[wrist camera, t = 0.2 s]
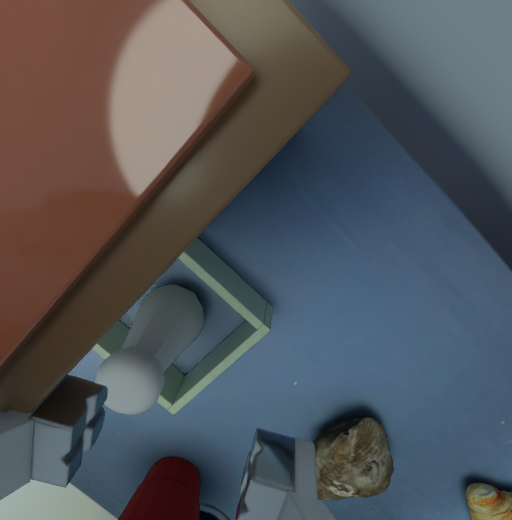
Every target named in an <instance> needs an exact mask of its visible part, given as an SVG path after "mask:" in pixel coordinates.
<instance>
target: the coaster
mask: <svg viewBox="0 0 512 520" xmlns="http://www.w3.org/2000/svg"><path fill="white" fill-rule="evenodd" d="M255 75H256V74H255V72H254V70H253V68H252V66H251V65H250V64H249V63H248V62H247V61H246V60H245V59H244V58H243V57H242V56H241V55H240V53H239V52H238V51H237V50H236V49H235V48H234V47H233V46H232V45H231V44H230V43H229V42H228V41H227V40H226V39H225V38H224V37H223V36H222V34H221V33H220V32H219V31H218V30H217V29H216V28H215V27H214V26H213V25H212V24H211V23H210V22H209V21H208V20H207V19H206V18H205V17H204V15H203V14H202V13H201V12H200V11H199V10H198V9H197V8H196V7H195V6H194V5H193V4H192V3H191V2H190V1H189V0H0V373H1V371H2V370H3V369H4V368H5V367H6V366H7V364H8V363H9V362H10V361H11V360H12V359H13V357H14V356H15V355H16V354H17V353H18V352H19V351H20V349H21V348H22V347H23V346H24V345H25V344H26V342H27V341H28V340H29V339H30V338H31V337H32V335H33V334H34V333H35V332H36V331H37V330H38V329H39V327H40V326H41V325H42V324H43V323H44V322H45V320H46V319H47V318H48V317H49V316H50V315H51V313H52V312H53V311H54V310H55V309H56V308H57V307H58V305H59V304H60V303H61V302H62V301H63V300H64V298H65V297H66V296H67V295H68V294H69V293H70V291H71V290H72V289H73V288H74V287H75V286H76V285H77V283H78V282H79V281H80V280H81V279H82V278H83V276H84V275H85V274H86V273H87V272H88V271H89V270H90V268H91V267H92V266H93V265H94V264H95V263H96V261H97V260H98V259H99V258H100V257H101V256H102V254H103V253H104V252H105V251H106V250H107V249H108V248H109V246H110V245H111V244H112V243H113V242H114V241H115V239H116V238H117V237H118V236H119V235H120V234H121V232H122V231H123V230H124V229H125V228H126V227H127V226H128V224H129V223H130V222H131V221H132V220H133V219H134V217H135V216H136V215H137V214H138V213H139V212H140V210H141V209H142V208H143V207H144V206H145V205H146V204H147V202H148V201H149V200H150V199H151V198H152V197H153V195H154V194H155V193H156V192H157V191H158V190H159V188H160V187H161V186H162V185H163V184H164V183H165V182H166V180H167V179H168V178H169V177H170V176H171V175H172V173H173V172H174V171H175V170H176V169H177V168H178V167H179V165H180V164H181V163H182V162H183V161H184V160H185V158H186V157H187V156H188V155H189V154H190V153H191V151H192V150H193V149H194V148H195V147H196V146H197V145H198V143H199V142H200V141H201V140H202V139H203V138H204V136H205V135H206V134H207V133H208V132H209V131H210V129H211V128H212V127H213V126H214V125H215V124H216V123H217V121H218V120H219V119H220V118H221V117H222V116H223V114H224V113H225V112H226V111H227V110H228V109H229V107H230V106H231V105H232V104H233V103H234V102H235V101H236V99H237V98H238V97H239V96H240V95H241V94H242V92H243V91H244V90H245V89H246V88H247V87H248V85H249V84H250V83H251V82H252V81H253V80H254V78H255Z"/></svg>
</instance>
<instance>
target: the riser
mask: <svg viewBox="0 0 512 520" xmlns="http://www.w3.org/2000/svg"><path fill="white" fill-rule="evenodd" d="M189 1H190V2H191V3H192V4H193V5H194V6H195V7H196V8H197V9H198V10H199V11H200V12H201V13H202V14H203V15H204V17H205V18H206V19H207V20H208V21H209V22H210V23H211V24H212V25H213V26H214V27H215V28H216V29H217V30H218V31H219V32H220V33H221V34H222V36H223V37H224V38H225V39H226V40H227V41H228V42H229V43H230V44H231V45H232V46H233V47H234V48H235V49H236V50H237V51H238V52H239V53H240V55H241V56H242V57H243V58H244V59H245V60H246V61H247V62H248V63H249V64H250V65H251V66H252V68H253V70H254V72H255V74H256V75H255V78H254V80H253V81H252V82H251V83H250V84H249V85H248V87H247V88H246V89H245V90H244V91H243V92H242V94H241V95H240V96H239V97H238V98H237V99H236V101H235V102H234V103H233V104H232V105H231V106H230V107H229V109H228V110H227V111H226V112H225V113H224V114H223V116H222V117H221V118H220V119H219V120H218V121H217V123H216V124H215V125H214V126H213V127H212V128H211V129H210V131H209V132H208V133H207V134H206V135H205V136H204V138H203V139H202V140H201V141H200V142H199V143H198V145H197V146H196V147H195V148H194V149H193V150H192V151H191V153H190V154H189V155H188V156H187V157H186V158H185V160H184V161H183V162H182V163H181V164H180V165H179V167H178V168H177V169H176V170H175V171H174V172H173V173H172V175H171V176H170V177H169V178H168V179H167V180H166V182H165V183H164V184H163V185H162V186H161V187H160V188H159V190H158V191H157V192H156V193H155V194H154V195H153V197H152V198H151V199H150V200H149V201H148V202H147V204H146V205H145V206H144V207H143V208H142V209H141V210H140V212H139V213H138V214H137V215H136V216H135V217H134V219H133V220H132V221H131V222H130V223H129V224H128V226H127V227H126V228H125V229H124V230H123V231H122V232H121V234H120V235H119V236H118V237H117V238H116V239H115V241H114V242H113V243H112V244H111V245H110V246H109V248H108V249H107V250H106V251H105V252H104V253H103V254H102V256H101V257H100V258H99V259H98V260H97V261H96V263H95V264H94V265H93V266H92V267H91V268H90V270H89V271H88V272H87V273H86V274H85V275H84V276H83V278H82V279H81V280H80V281H79V282H78V283H77V285H76V286H75V287H74V288H73V289H72V290H71V291H70V293H69V294H68V295H67V296H66V297H65V298H64V300H63V301H62V302H61V303H60V304H59V305H58V307H57V308H56V309H55V310H54V311H53V312H52V313H51V315H50V316H49V317H48V318H47V319H46V320H45V322H44V323H43V324H42V325H41V326H40V327H39V329H38V330H37V331H36V332H35V333H34V334H33V335H32V337H31V338H30V339H29V340H28V341H27V342H26V344H25V345H24V346H23V347H22V348H21V349H20V351H19V352H18V353H17V354H16V355H15V356H14V357H13V359H12V360H11V361H10V362H9V363H8V364H7V366H6V367H5V368H4V369H3V370H2V371H1V373H0V410H1V411H5V412H6V411H7V410H9V409H10V410H14V411H18V412H21V413H30V412H32V411H33V410H34V409H35V408H36V407H37V406H38V405H39V404H40V402H41V401H42V400H43V399H44V398H45V397H46V396H47V395H48V394H49V393H50V392H51V391H52V390H53V389H54V388H55V387H56V386H57V385H58V384H59V382H60V381H61V380H62V379H63V378H64V377H65V376H66V375H67V374H68V373H69V372H70V371H71V370H72V369H73V368H74V367H75V366H76V365H77V364H78V362H79V361H80V360H81V359H82V358H83V357H84V356H85V355H86V354H87V353H88V352H89V351H90V350H91V349H92V348H93V347H94V346H95V345H96V344H97V343H98V341H99V340H100V339H101V338H102V337H103V336H104V335H105V334H106V333H107V332H108V331H109V330H110V329H111V328H112V327H113V326H114V325H115V324H116V323H117V321H118V320H119V319H120V318H121V317H122V316H123V315H124V314H125V313H126V312H127V311H128V310H129V309H130V308H131V307H132V306H133V305H134V304H135V303H136V301H137V300H138V299H139V298H140V297H141V296H142V295H143V294H144V293H145V292H146V291H147V290H148V289H149V288H150V287H151V286H152V285H153V284H154V283H155V281H156V280H157V279H158V278H159V277H160V276H161V275H162V274H163V273H164V272H165V271H166V270H167V269H168V268H169V267H170V266H171V265H172V264H173V263H174V261H175V260H176V259H177V258H178V257H179V256H180V255H181V254H182V253H183V252H184V251H185V250H186V249H187V248H188V247H189V246H190V245H191V244H192V243H193V241H194V240H195V239H196V238H197V237H198V236H199V235H200V234H201V233H202V232H203V231H204V230H205V229H206V228H207V227H208V226H209V225H210V224H211V223H212V221H213V220H214V219H215V218H216V217H217V216H218V215H219V214H220V213H221V212H222V211H223V210H224V209H225V208H226V207H227V206H228V205H229V204H230V203H231V202H232V200H233V199H234V198H235V197H236V196H237V195H238V194H239V193H240V192H241V191H242V190H243V189H244V188H245V187H246V186H247V185H248V184H249V183H250V182H251V180H252V179H253V178H254V177H255V176H256V175H257V174H258V173H259V172H260V171H261V170H262V169H263V168H264V167H265V166H266V165H267V164H268V163H269V162H270V160H271V159H272V158H273V157H274V156H275V155H276V154H277V153H278V152H279V151H280V150H281V149H282V148H283V147H284V146H285V145H286V144H287V143H288V142H289V140H290V139H291V138H292V137H293V136H294V135H295V134H296V133H297V132H298V131H299V130H300V129H301V128H302V127H303V126H304V125H305V124H306V123H307V122H308V120H309V119H310V118H311V117H312V116H313V115H314V114H315V113H316V112H317V111H318V110H319V109H320V108H321V107H322V106H323V105H324V104H325V103H326V102H327V100H328V99H329V98H330V97H331V96H332V95H333V94H334V93H335V92H336V91H337V90H338V89H339V88H340V87H341V86H342V85H343V84H344V83H345V82H346V80H347V79H348V78H349V77H350V74H351V72H350V69H349V68H348V67H347V66H346V64H345V63H344V62H343V61H342V60H341V59H340V58H339V57H338V55H337V54H336V53H335V52H334V51H333V50H332V49H331V48H330V47H329V45H328V44H327V43H326V42H325V41H324V40H323V39H322V38H321V36H320V35H319V34H318V33H317V32H316V31H315V30H314V29H313V27H312V26H311V25H310V24H309V23H308V22H307V21H306V20H305V19H304V17H303V16H302V15H301V14H300V13H299V12H298V11H297V10H296V9H295V7H294V6H293V5H292V4H291V3H290V2H289V1H288V0H189Z"/></svg>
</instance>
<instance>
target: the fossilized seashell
mask: <svg viewBox="0 0 512 520" xmlns="http://www.w3.org/2000/svg"><path fill="white" fill-rule="evenodd" d="M314 445H315V461H316V478H317V494H318V499H320V500H322V499H331V500H339V499H345V498H350V497H354V496H358V497H370V496H375V495H379V494H381V493H382V492H384V491H386V490H387V488H388V486H389V485H390V478H391V475H392V473H393V471H394V468H393V459H392V456H391V453H390V449H389V444H388V441H387V435H386V434H385V430H384V427H383V426H382V424H381V423H380V422H379V421H377V420H376V419H374V418H373V417H362V418H349V419H344V420H341V421H339V422H336V423H334V424H333V425H331V426H329V427H328V428H327V429H326V430H324V431H323V432H322V433H321V434H320V435H319V437H318V438H317V440H316V441H315V443H314Z"/></svg>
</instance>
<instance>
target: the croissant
mask: <svg viewBox="0 0 512 520" xmlns="http://www.w3.org/2000/svg"><path fill="white" fill-rule="evenodd" d="M466 497H467V504H468V508H469V511H470V515H471V518H472V520H512V492H506V491H505V490H502V491H499V490H498V489H497V488H495V487H494V486H492V485H488V484H484V483H478V484H477V483H474V484H471V485H470V486H469V487H468V488H467V490H466Z"/></svg>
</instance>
